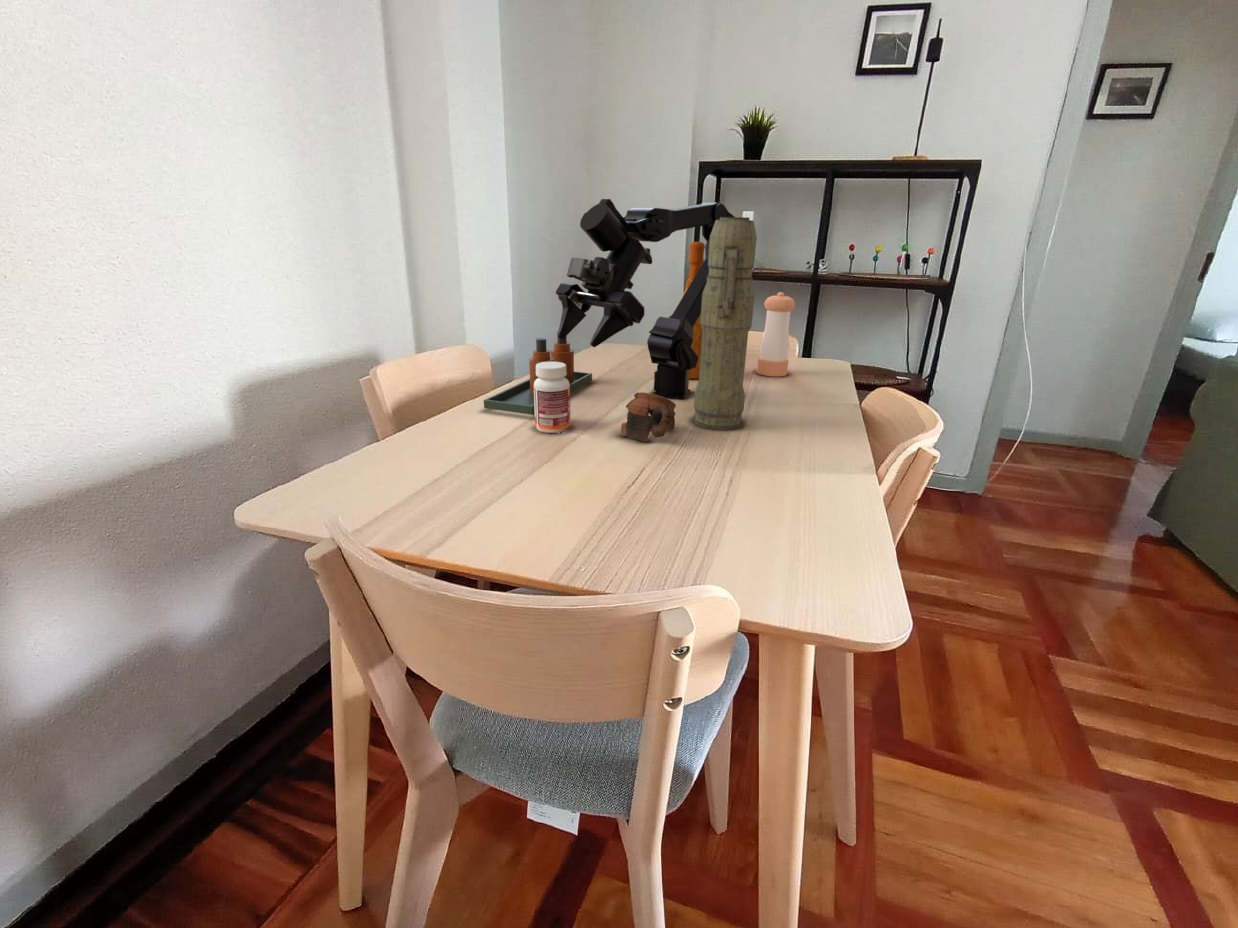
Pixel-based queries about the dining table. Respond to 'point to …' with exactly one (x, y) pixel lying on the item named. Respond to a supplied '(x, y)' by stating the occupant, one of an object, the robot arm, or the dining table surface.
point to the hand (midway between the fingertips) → (575, 341)
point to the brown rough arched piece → (642, 422)
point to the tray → (526, 396)
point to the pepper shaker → (775, 336)
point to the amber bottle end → (564, 356)
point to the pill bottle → (551, 397)
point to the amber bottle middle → (538, 360)
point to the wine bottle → (695, 264)
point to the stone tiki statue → (725, 324)
